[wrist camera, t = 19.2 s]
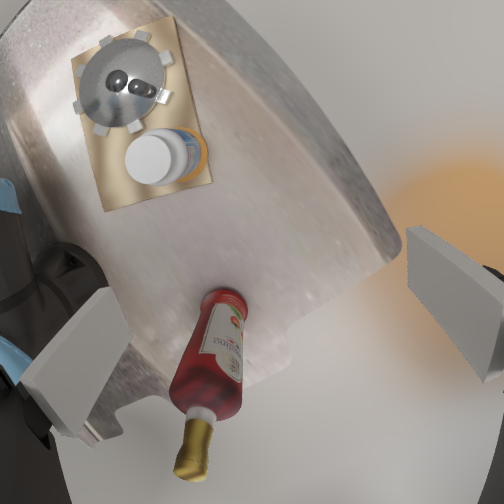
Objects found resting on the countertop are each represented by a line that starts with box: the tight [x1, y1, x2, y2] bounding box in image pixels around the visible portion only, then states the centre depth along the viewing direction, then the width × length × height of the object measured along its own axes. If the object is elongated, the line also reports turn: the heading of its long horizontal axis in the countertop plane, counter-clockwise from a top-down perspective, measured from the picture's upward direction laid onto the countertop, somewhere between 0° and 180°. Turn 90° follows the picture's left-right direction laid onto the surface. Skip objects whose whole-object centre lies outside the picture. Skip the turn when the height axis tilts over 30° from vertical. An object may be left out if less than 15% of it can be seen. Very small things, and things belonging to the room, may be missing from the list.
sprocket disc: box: [73, 30, 175, 136], centre depth 31 cm, size 15×15×6 cm
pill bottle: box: [125, 128, 201, 186], centre depth 32 cm, size 6×6×11 cm
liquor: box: [169, 290, 248, 482], centre depth 33 cm, size 7×7×28 cm
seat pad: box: [173, 127, 208, 182], centre depth 37 cm, size 7×7×1 cm
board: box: [71, 15, 213, 212], centre depth 36 cm, size 16×24×1 cm, turn 13°
